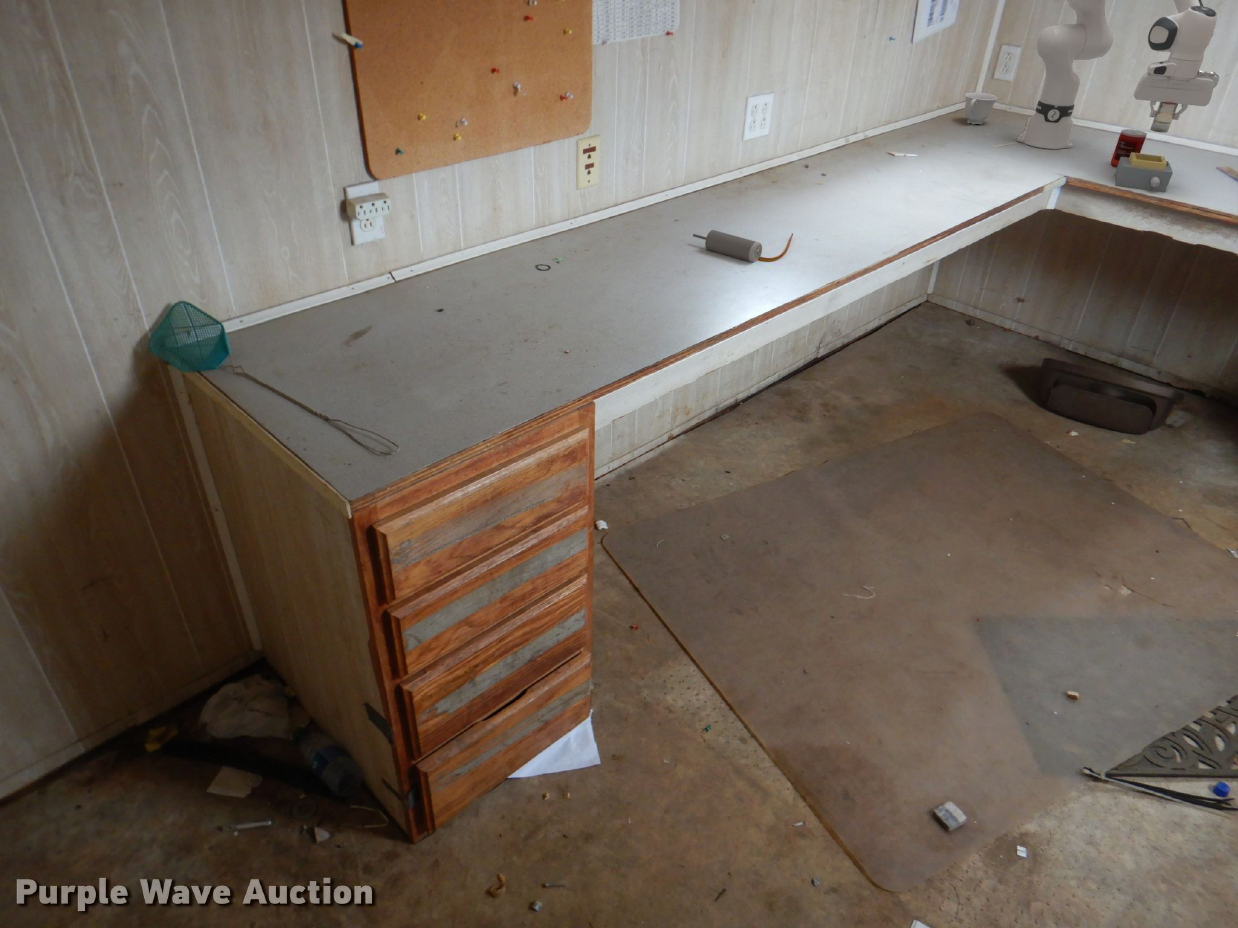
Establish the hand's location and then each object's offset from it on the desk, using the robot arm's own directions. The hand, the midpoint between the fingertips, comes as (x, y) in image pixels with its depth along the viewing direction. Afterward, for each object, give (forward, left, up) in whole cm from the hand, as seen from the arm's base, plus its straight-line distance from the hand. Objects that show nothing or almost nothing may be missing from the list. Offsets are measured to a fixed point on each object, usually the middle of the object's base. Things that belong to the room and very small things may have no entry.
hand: (1163, 118), depth 261 cm
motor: (+110, -97, -20) cm, 148 cm away
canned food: (-20, -4, -20) cm, 29 cm away
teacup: (-56, -55, -20) cm, 81 cm away
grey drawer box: (+1, 0, -20) cm, 20 cm away
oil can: (0, 0, -4) cm, 4 cm away
